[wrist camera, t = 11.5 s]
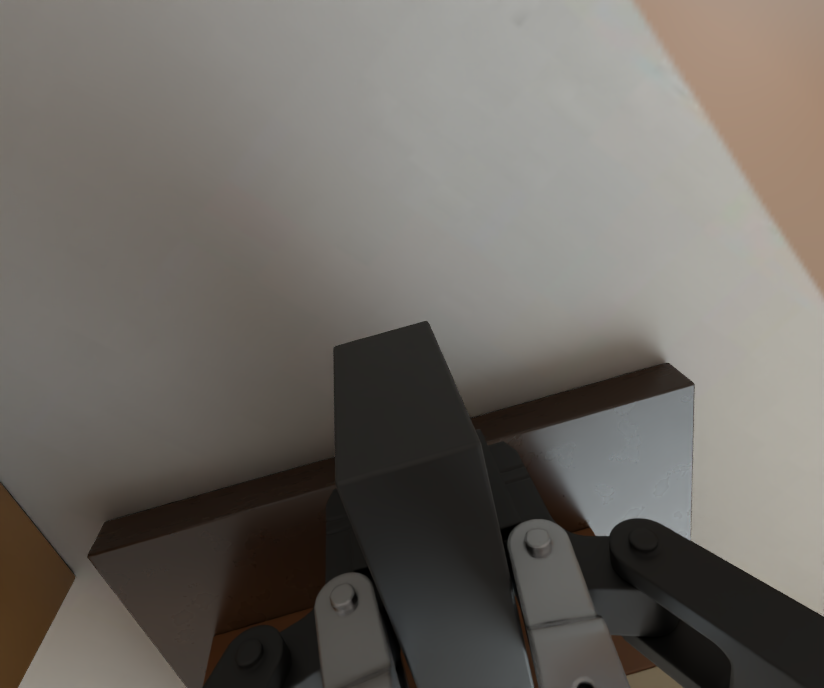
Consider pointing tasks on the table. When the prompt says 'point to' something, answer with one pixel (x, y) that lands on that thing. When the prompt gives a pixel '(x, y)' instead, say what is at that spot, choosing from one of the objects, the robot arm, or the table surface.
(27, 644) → the stand
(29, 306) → the table surface
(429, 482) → the knife
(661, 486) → the board
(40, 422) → the table surface
